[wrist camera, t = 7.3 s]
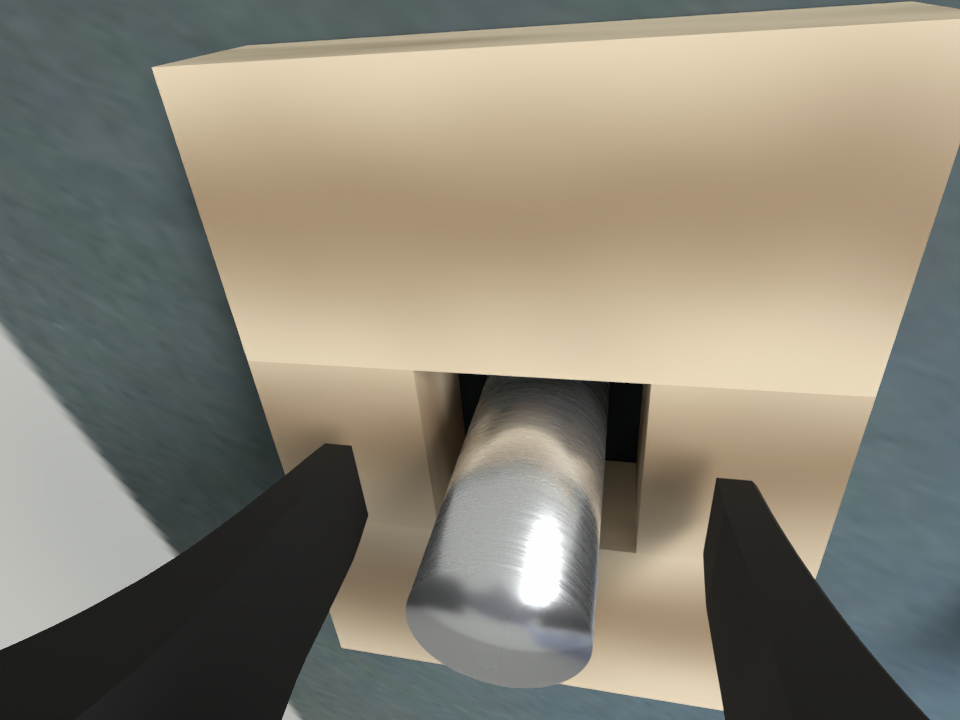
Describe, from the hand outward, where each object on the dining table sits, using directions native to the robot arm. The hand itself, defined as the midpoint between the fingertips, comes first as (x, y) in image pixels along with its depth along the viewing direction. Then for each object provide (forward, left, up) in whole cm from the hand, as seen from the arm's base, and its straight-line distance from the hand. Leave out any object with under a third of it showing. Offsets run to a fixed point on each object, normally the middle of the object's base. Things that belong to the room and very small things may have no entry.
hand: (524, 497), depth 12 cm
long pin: (0, 0, -4) cm, 4 cm away
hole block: (0, 0, -4) cm, 4 cm away
